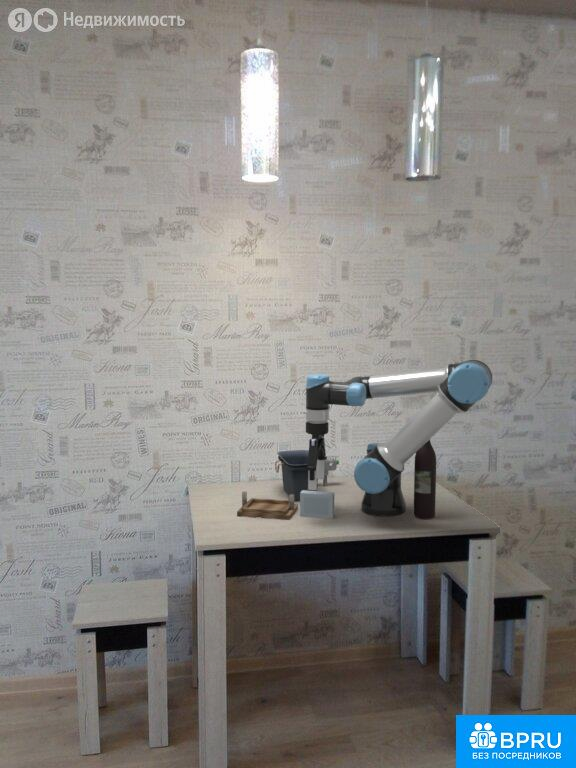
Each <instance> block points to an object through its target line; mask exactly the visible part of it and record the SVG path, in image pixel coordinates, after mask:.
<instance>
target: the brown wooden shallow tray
mask: <svg viewBox="0 0 576 768" xmlns="http://www.w3.org/2000/svg"><path fill="white" fill-rule="evenodd" d="M247 494H248V492H247V491H241V507H240V508H239V509H238V510H237V511H236V512H237V513H236V517H242V516H248V517H247V518H256V517H261V518H260V519H271V518H274V519H275V520H287V521H288V520H291V519H292V517H293V516H294V514H295V513H296V512H297V510H298V509H299V504H298V503H295V500H294V495H293V494H291V495H289V494H288V497H289V500H288V499H275V498H274V499H271V498H258V497H257V498H256V497H251V498H249V500H248V495H247Z"/></svg>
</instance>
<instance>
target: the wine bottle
mask: <svg viewBox="0 0 576 768" xmlns="http://www.w3.org/2000/svg"><path fill="white" fill-rule="evenodd" d="M414 455H415V456H414V472H413V473H414V476H413V477H414V478H413V479H414V480H413V482H414V483H413V486H414V487H413V516H414V517H415V518H418V519H423V520H429V519H434V518H435V517H436V500H437V499H436V497H437V496H436V495H437V454H436V451H435V449H434V447H433V445H432V442H431V439H430V440H429V441H427V442H426V443H425V444H424V445H423V446H422V447H421V448H420V449H419V450H418V451H417V452H416V453H415V454H414Z"/></svg>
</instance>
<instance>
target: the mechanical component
mask: <svg viewBox="0 0 576 768" xmlns="http://www.w3.org/2000/svg"><path fill="white" fill-rule="evenodd" d="M339 463H340V461H339V460H337V459H336V458H335V459H334V458H333V459H327V460H324V479H322V485H323V487H328V476H329V472H330V471H331V472H333V471H336V470H337V468H338V467H337V466H338V465H339Z"/></svg>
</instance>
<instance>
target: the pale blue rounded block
mask: <svg viewBox="0 0 576 768" xmlns="http://www.w3.org/2000/svg"><path fill="white" fill-rule="evenodd" d="M299 516H300V517H307V518H320V519H321V518H322V519H323V518H325V519H333V518H334V516H335V492H334V491H321V490H317V491H306V490H302V491H301V492H300V501H299Z"/></svg>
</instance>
